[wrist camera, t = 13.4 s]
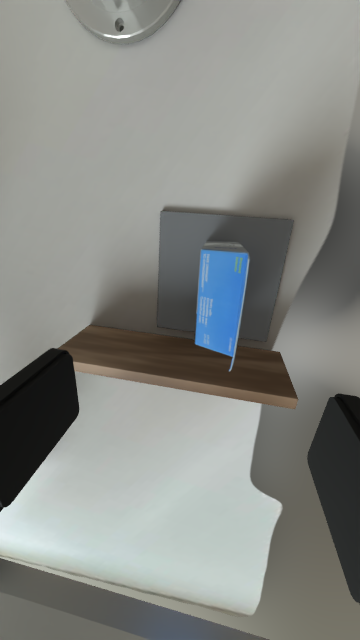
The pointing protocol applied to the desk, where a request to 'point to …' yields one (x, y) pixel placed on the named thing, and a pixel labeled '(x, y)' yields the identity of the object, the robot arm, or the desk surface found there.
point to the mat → (184, 260)
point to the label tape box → (221, 296)
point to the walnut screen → (182, 365)
